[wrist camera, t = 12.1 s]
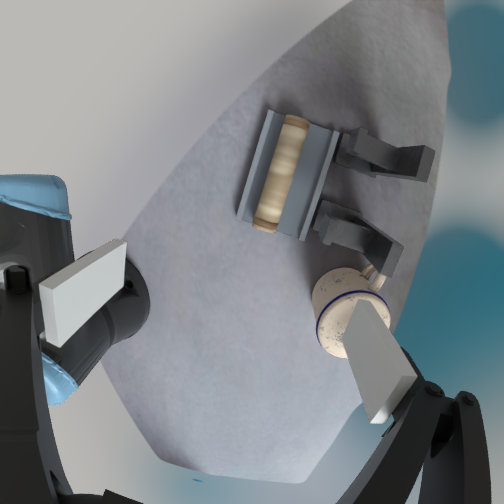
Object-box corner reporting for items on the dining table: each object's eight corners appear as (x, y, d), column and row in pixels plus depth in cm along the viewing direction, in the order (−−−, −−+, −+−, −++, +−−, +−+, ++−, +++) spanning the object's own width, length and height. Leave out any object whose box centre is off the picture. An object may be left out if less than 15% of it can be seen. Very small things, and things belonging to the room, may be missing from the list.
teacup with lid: (347, 331, 41) (364, 381, 30) (297, 306, 40) (302, 355, 29) (394, 266, 37) (429, 302, 26) (344, 234, 37) (369, 263, 26)
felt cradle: (237, 217, 38) (235, 219, 36) (268, 111, 33) (268, 109, 32) (303, 238, 38) (304, 241, 36) (337, 133, 33) (339, 132, 32)
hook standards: (308, 226, 37) (323, 261, 24) (338, 131, 33) (372, 114, 20) (353, 241, 37) (388, 282, 24) (383, 150, 33) (436, 145, 20)
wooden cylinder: (278, 230, 37) (272, 234, 34) (255, 222, 37) (248, 225, 34) (312, 125, 32) (308, 119, 29) (288, 118, 33) (283, 112, 30)
